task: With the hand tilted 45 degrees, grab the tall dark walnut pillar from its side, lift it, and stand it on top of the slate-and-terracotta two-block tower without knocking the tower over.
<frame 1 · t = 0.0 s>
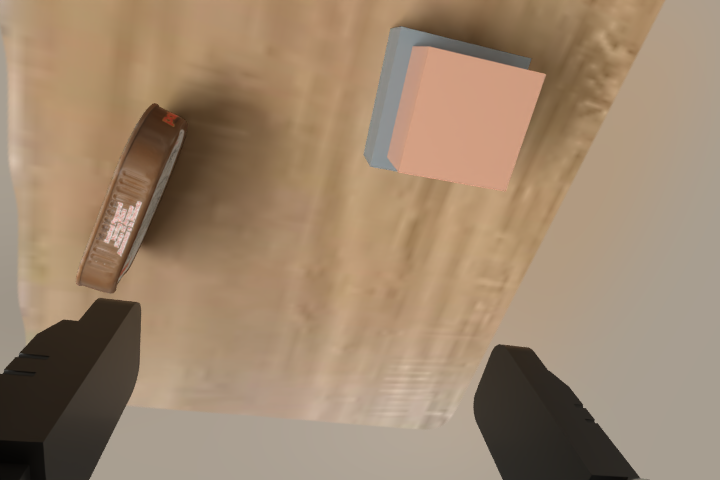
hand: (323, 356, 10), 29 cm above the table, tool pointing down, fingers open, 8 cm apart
tin: (152, 186, 37), on the table
tower base: (432, 106, 37), on the table, touching tower cap
tower cap: (449, 114, 33), point 4 cm above the table, touching tower base
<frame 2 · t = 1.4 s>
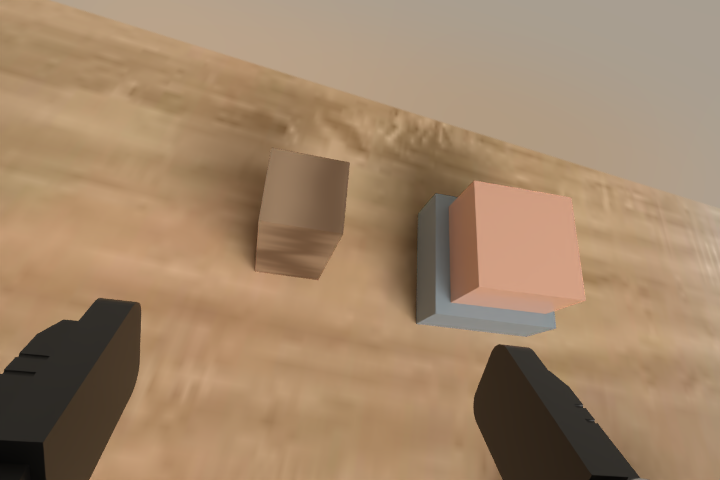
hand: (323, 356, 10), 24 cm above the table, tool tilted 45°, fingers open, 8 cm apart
tower base: (468, 275, 39), on the table, touching tower cap
tower cap: (496, 259, 35), point 4 cm above the table, touching tower base
pillar: (291, 246, 36), on the table
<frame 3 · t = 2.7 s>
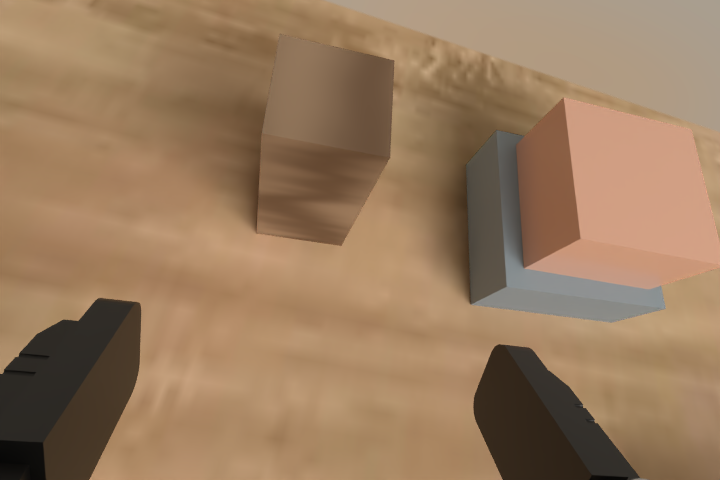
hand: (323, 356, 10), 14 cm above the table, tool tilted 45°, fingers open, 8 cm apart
tower base: (533, 242, 30), on the table, touching tower cap
tower cap: (580, 215, 26), point 4 cm above the table, touching tower base
pillar: (304, 201, 27), on the table
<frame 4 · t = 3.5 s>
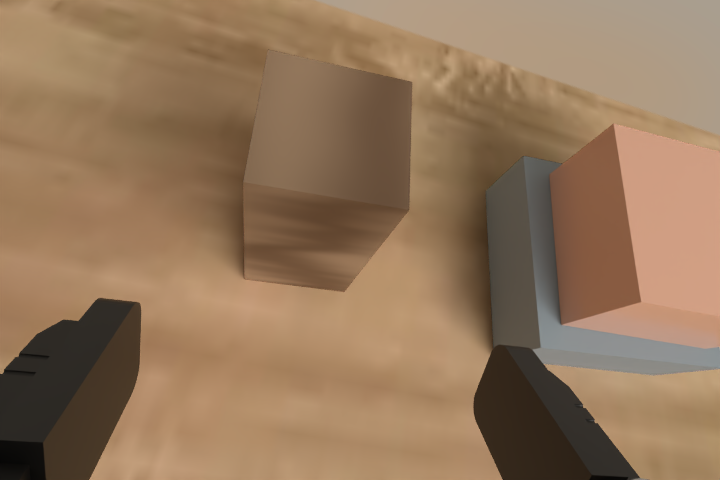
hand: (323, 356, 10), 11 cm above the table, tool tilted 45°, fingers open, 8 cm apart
tower base: (562, 281, 27), on the table
tower cap: (624, 258, 22), point 4 cm above the table
pillar: (301, 239, 23), on the table
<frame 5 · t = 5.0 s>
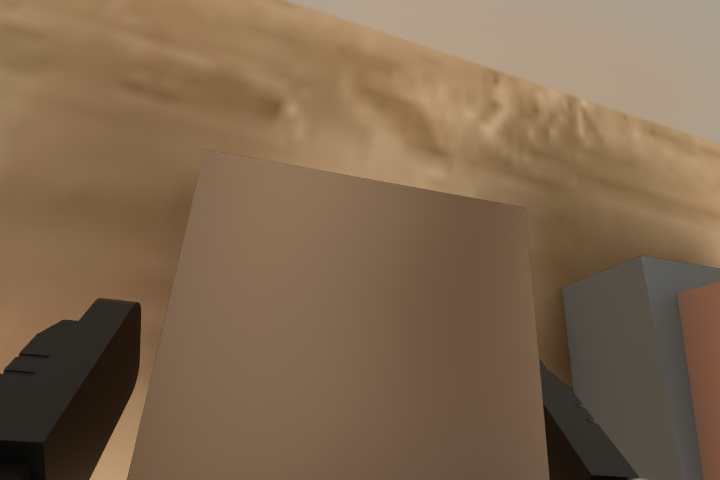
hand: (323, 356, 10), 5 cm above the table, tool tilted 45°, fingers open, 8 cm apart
tower base: (677, 423, 18), on the table, touching tower cap
pillar: (292, 389, 15), on the table
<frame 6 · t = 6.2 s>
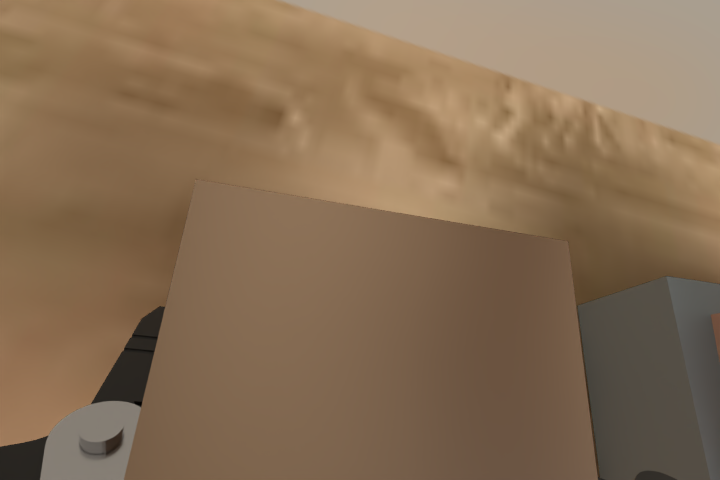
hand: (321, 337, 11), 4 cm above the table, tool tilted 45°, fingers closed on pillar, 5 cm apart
tower base: (701, 449, 17), on the table, touching tower cap
pillar: (296, 418, 14), on the table, touching gripper
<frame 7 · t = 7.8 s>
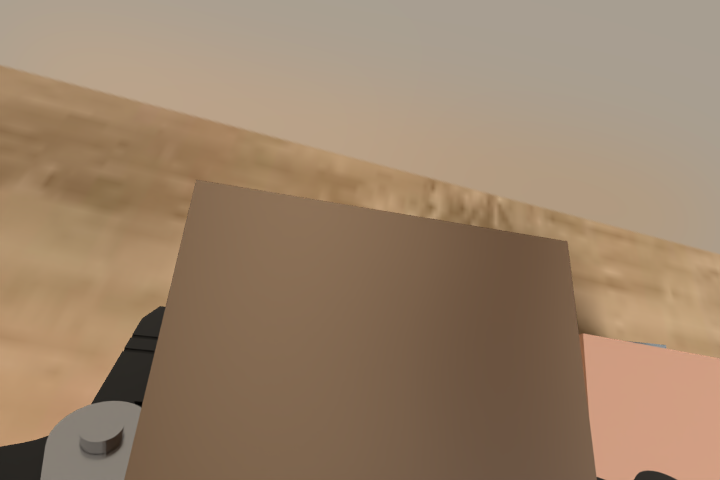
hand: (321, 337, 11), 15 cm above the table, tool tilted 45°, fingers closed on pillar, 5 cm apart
tower cap: (600, 440, 22), point 4 cm above the table
pillar: (296, 418, 14), point 11 cm above the table, touching gripper
when the fingers open (15 cm above the table, at t = 11.4 s): pillar drops 2 cm, resting on tower cap.
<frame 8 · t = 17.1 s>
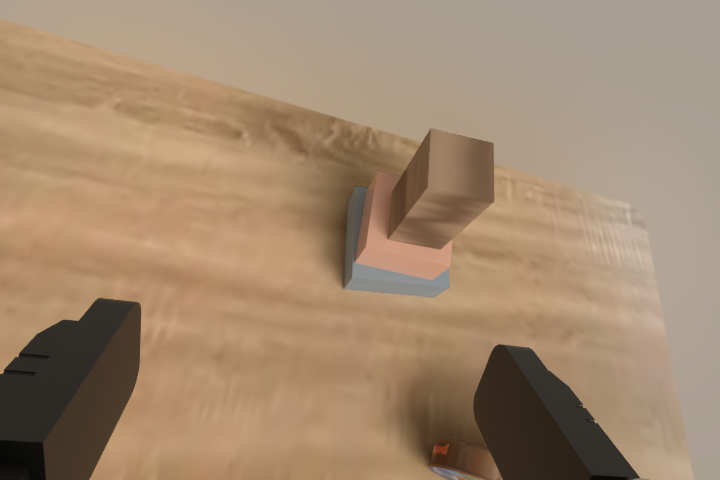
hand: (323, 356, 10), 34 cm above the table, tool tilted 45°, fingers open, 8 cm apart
tin: (487, 477, 43), on the table
tower base: (389, 250, 49), on the table, touching tower cap
tower cap: (398, 235, 45), point 4 cm above the table, touching pillar, tower base
pillar: (415, 220, 41), point 9 cm above the table, touching tower cap
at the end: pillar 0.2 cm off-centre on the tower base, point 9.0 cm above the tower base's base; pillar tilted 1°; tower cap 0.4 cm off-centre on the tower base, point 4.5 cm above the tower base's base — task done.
